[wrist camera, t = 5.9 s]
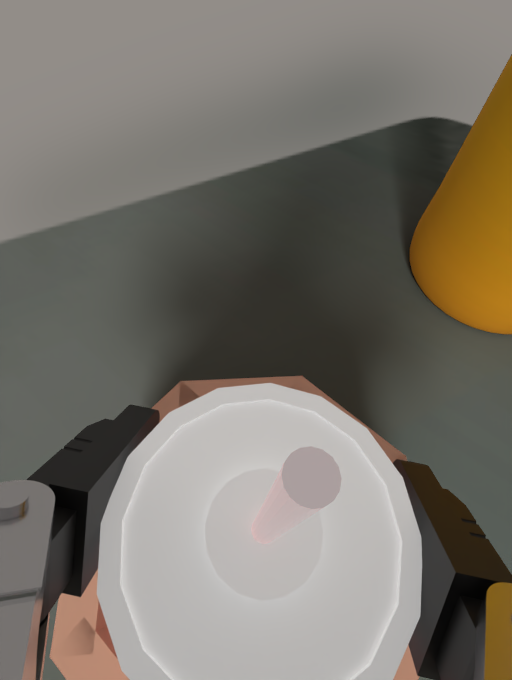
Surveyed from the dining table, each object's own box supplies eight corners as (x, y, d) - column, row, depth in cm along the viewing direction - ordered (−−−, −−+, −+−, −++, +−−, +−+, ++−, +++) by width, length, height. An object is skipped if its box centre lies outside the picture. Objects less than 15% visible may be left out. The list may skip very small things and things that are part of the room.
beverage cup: (179, 463, 17) (47, 183, 5) (322, 474, 17) (562, 230, 5) (151, 643, 13) (-517, 1291, 1) (326, 655, 14) (1089, 1337, 2)
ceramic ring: (237, 382, 19) (238, 326, 14) (421, 535, 16) (494, 523, 11) (55, 566, 14) (-19, 564, 10) (260, 821, 12) (278, 973, 7)
